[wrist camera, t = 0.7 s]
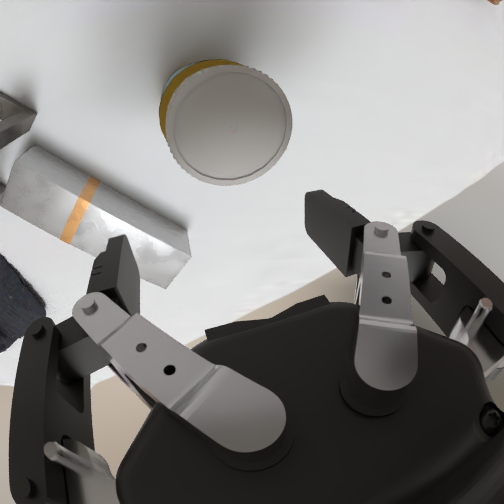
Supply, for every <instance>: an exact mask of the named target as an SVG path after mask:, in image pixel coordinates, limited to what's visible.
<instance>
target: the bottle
mask: <svg viewBox="0 0 504 504" xmlns="http://www.w3.org/2000/svg"><path fill="white" fill-rule="evenodd" d="M159 118H160V126H161V130H162V132H163V134H164V137H165V139H166V141H167V142H168V146H169V147H170V152H171V153H172V154H173V157H174V159H176V161H177V163H178V164H179V165H180V166H181V168H182V169H184V170H185V171H186V172H187V173H189V174H190V175H192V176H193V177H195V178H197V179H198V180H201V181H203V182H206V183H209V184H213V185H221V186H231V185H238V184H243V183H246V182H249V181H252V180H254V179H256V178H258V177H260V176H261V175H263V174H264V173H266V172H267V171H268V170H270V169H271V168H272V167H273V166H274V165H275V164H276V163H277V162H278V160H279V159H280V158H281V156H282V155H283V153H284V151H285V150H286V148H287V145H288V143H289V140H290V136H291V131H292V113H291V109H290V105H289V102H288V100H287V98H286V96H285V94H284V92H283V91H282V89H281V88H280V87H279V86H278V84H277V83H275V82H274V81H273V79H271V78H269V77H268V75H266V74H263V73H262V72H261V71H257V70H256V69H254V68H249V67H247V66H243V65H241V64H239V63H235V62H232V61H228V60H220V59H218V60H205V61H201V62H197V63H193V64H190V65H187V66H185V67H182V68H181V69H179V70H178V71H177V72H175V73H174V74H173V75H172V76H171V77H170V78H169V80H168V81H167V83H166V84H165V87H164V89H163V93H162V97H161V102H160V107H159Z"/></svg>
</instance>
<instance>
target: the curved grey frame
mask: <svg viewBox="0 0 504 504" xmlns="http://www.w3.org/2000/svg"><path fill="white" fill-rule="evenodd" d="M36 115H37V113H36V112H34V111H32V110H31V109H29V108H27V107H25V106H24V105H22V104H20V103H18V102H17V101H15V100H13V99H11V98H10V97H8V96H6V95H4V94H2V93H1V92H0V119H2V120H3V121H0V149H2V148H3V147H4V146H6V145H7V144H9V143H11V142H12V141H14V140H15V139H17V138H18V137H20V136H21V135H23V134H25V133H26V132H28V131H29V130H30V128H31V126H32V123H33V121H34V119H35V117H36ZM5 189H6V186H5V185H3V184H2V183H0V205H1V203H2V199H3V196H4V192H5Z"/></svg>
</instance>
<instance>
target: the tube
mask: <svg viewBox="0 0 504 504" xmlns="http://www.w3.org/2000/svg"><path fill="white" fill-rule="evenodd" d="M1 206H2V207H3V208H5V209H7V210H8V211H10V212H12V213H14V214H15V215H17V216H19V217H21V218H22V219H24V220H26V221H28V222H29V223H31V224H33V225H35V226H37V227H39V228H40V229H42V230H44V231H46V232H48V233H50V234H52V235H53V236H55V237H57V238H59V239H60V240H62V241H64V242H66V243H68V244H71V245H73V246H75V247H77V248H79V249H81V250H83V251H85V252H87V253H89V254H91V255H93V256H95V257H97V256H98V255H99V254H100V252H104V251H106V247H107V243H108V239H109V238H112V237H116V236H119V235H123V234H125V235H126V236H127V238H128V241H129V244H130V246H131V249H132V252H133V255H134V257H135V260H136V263H137V266H138V269H139V274H140V278H142V279H144V280H146V281H148V282H151V283H153V284H155V285H158V286H160V287H162V288H164V289H166V288H167V287H168V286H169V284H170V283H171V282H172V281H173V279H174V278H175V277H176V276H177V274H178V273H179V272H180V271H181V269H182V268H183V267H184V266H185V264H186V263H187V262H188V261H189V259H190V258H191V257H192V256H191V251H190V245H189V239H188V233H187V230H185V229H183V228H181V227H179V226H178V225H176V224H174V223H172V222H170V221H169V220H167V219H165V218H163V217H161V216H160V215H158V214H156V213H154V212H152V211H151V210H149V209H147V208H145V207H143V206H142V205H140V204H138V203H136V202H134V201H133V200H131V199H129V198H127V197H126V196H124V195H122V194H120V193H118V192H117V191H115V190H113V189H111V188H110V187H108V186H106V185H104V184H103V183H101V182H100V181H98V180H96V179H94V178H93V177H91V176H88V175H87V174H85V173H83V172H81V171H80V170H78V169H76V168H74V167H73V166H71V165H69V164H68V163H66V162H64V161H62V160H61V159H59V158H57V157H55V156H54V155H52V154H50V153H48V152H47V151H45V150H43V149H42V148H40V147H38V146H36V145H34V146H33V147H32V148H30V149H29V150H28V151H26V152H25V153H24V154H23V155H21V156H20V157H19V158H18V159H16V160H15V162H14V165H13V168H12V170H11V173H10V176H9V179H8V182H7V186H6V189H5V192H4V196H3V199H2V203H1Z"/></svg>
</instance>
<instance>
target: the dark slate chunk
mask: <svg viewBox="0 0 504 504" xmlns="http://www.w3.org/2000/svg"><path fill="white" fill-rule="evenodd" d="M42 317H46V310H45V309H44V308H43V307H42V306H41V304H40V303H39V302H38V301H37V300H36V298H35V297H34V296H33V295H32V294H31V292H30V291H29V290H28V289H27V287H26V286H25V285H24V284H23V283H22V282H21V281H20V279H19V276H18V275H17V273H16V272H15V271H14V270H13V269H12V268H11V266H10V265H9V264H8V263H7V261H6V260H5V258H4V257H2V256H1V255H0V353H1V352H3V351H5V350H6V349H7V348H9V347H10V346H11V345H12V344H13V343H14V342H15V341H16V340H17V339H18V338H21V337H23V336H24V335H25V332H26V330H27V328H28V327H29V326H30V325H31V324H32V323H33V322H34V321H36V320H37V319H39V318H42Z"/></svg>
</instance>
